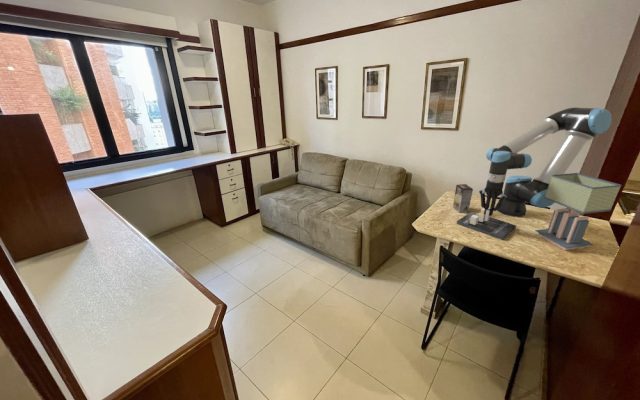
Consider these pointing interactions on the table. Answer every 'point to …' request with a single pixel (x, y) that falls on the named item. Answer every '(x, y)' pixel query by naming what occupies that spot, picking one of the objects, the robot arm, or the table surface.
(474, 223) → the block
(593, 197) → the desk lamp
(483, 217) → the block
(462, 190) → the coffee box
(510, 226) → the panel
